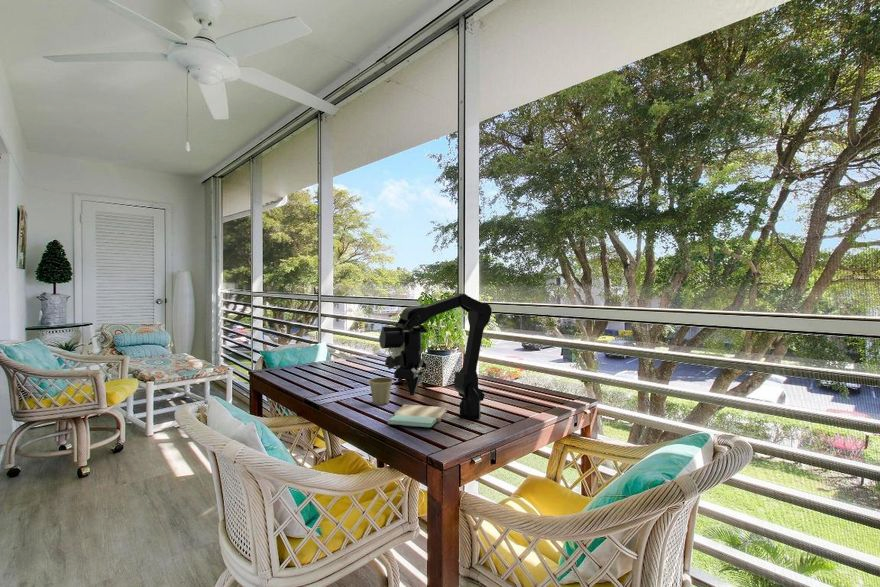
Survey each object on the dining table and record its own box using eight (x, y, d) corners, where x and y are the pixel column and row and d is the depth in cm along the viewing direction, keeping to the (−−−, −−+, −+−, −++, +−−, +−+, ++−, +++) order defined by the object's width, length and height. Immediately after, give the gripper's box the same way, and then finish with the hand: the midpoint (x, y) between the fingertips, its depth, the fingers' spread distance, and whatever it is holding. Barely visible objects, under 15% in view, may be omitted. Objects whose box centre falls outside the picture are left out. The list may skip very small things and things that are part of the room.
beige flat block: (447, 411, 150) (447, 407, 150) (439, 422, 139) (439, 418, 139) (404, 408, 154) (404, 404, 154) (393, 418, 142) (393, 414, 142)
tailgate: (436, 417, 139) (430, 423, 131) (436, 422, 139) (430, 428, 131) (396, 414, 142) (388, 419, 134) (396, 419, 142) (388, 424, 134)
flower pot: (369, 407, 155) (369, 383, 155) (367, 400, 165) (367, 378, 164) (395, 405, 158) (395, 382, 158) (391, 398, 167) (391, 376, 167)
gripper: (397, 341, 146) (397, 386, 146) (378, 350, 128) (377, 401, 128) (429, 343, 143) (428, 388, 144) (413, 351, 125) (413, 403, 126)
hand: (412, 395), depth 135 cm, fingers closed
